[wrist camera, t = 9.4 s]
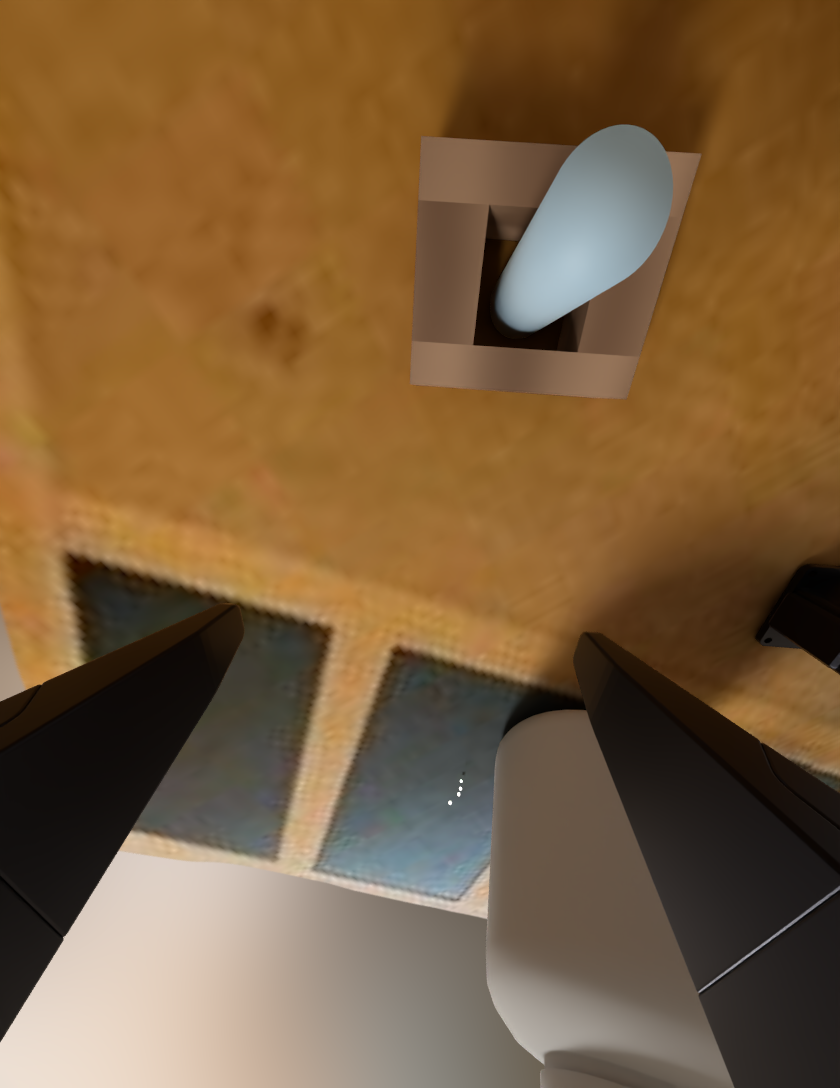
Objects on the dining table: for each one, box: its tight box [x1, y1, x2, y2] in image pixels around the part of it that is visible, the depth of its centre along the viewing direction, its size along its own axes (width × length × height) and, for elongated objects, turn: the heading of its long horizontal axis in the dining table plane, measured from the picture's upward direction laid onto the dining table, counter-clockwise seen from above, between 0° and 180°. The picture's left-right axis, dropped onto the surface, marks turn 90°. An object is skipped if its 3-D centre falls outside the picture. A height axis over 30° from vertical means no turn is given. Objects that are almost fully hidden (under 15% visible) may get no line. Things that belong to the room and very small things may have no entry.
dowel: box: [490, 125, 673, 339], centre depth 12 cm, size 3×3×9 cm
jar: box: [449, 710, 734, 1088], centre depth 19 cm, size 19×15×25 cm
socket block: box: [410, 136, 701, 399], centre depth 15 cm, size 10×8×3 cm
